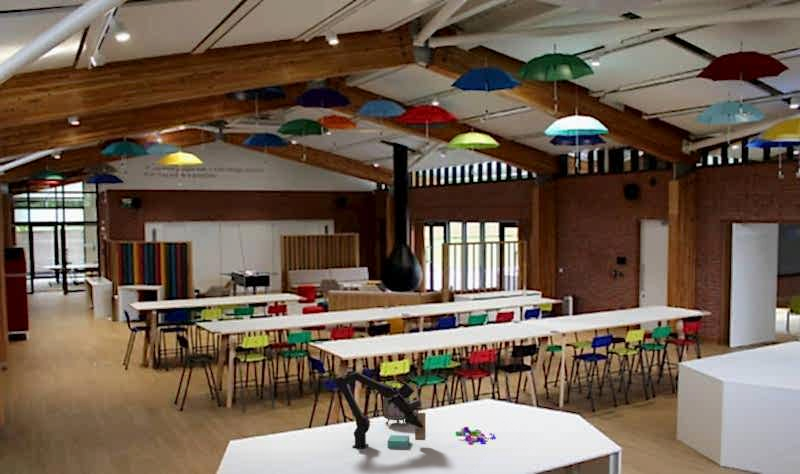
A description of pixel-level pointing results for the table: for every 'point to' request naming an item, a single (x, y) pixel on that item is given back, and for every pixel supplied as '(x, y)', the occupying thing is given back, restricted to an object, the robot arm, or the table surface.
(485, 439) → the building block set
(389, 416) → the tabletop clock
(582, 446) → the table surface
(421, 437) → the walnut pillar
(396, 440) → the teal base block
